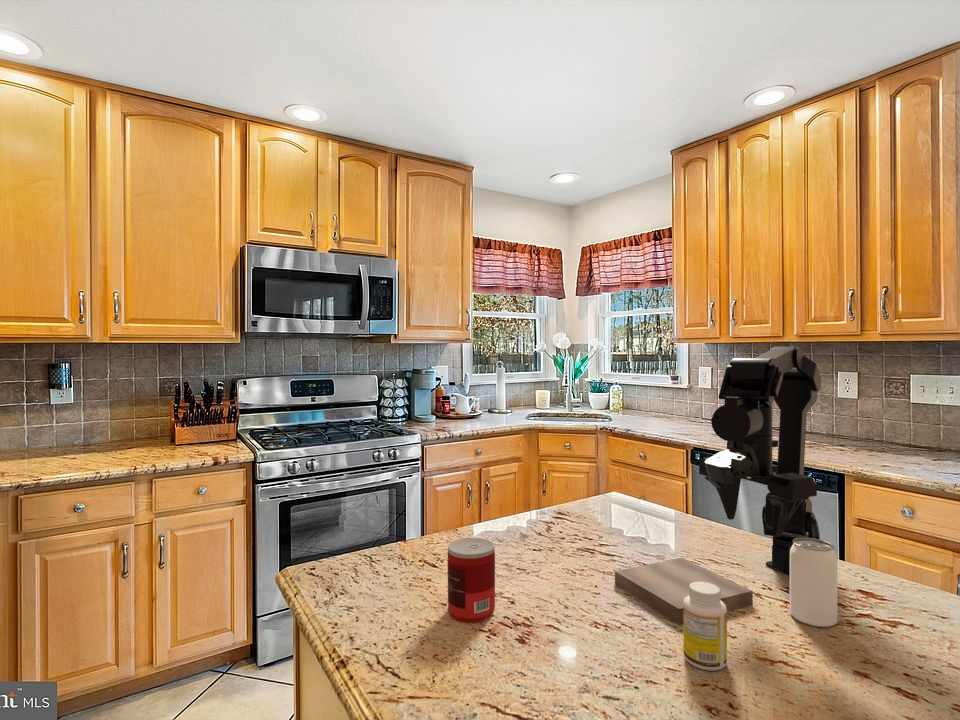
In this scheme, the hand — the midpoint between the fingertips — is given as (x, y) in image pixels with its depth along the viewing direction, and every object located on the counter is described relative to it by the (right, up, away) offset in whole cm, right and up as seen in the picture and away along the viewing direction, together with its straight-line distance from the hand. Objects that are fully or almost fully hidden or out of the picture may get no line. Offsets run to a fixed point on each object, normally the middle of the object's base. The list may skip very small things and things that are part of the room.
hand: (753, 527), depth 90 cm
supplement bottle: (-14, -14, -15) cm, 25 cm away
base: (-10, -13, +5) cm, 17 cm away
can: (+8, -14, -4) cm, 16 cm away
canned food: (-47, -14, -1) cm, 49 cm away
